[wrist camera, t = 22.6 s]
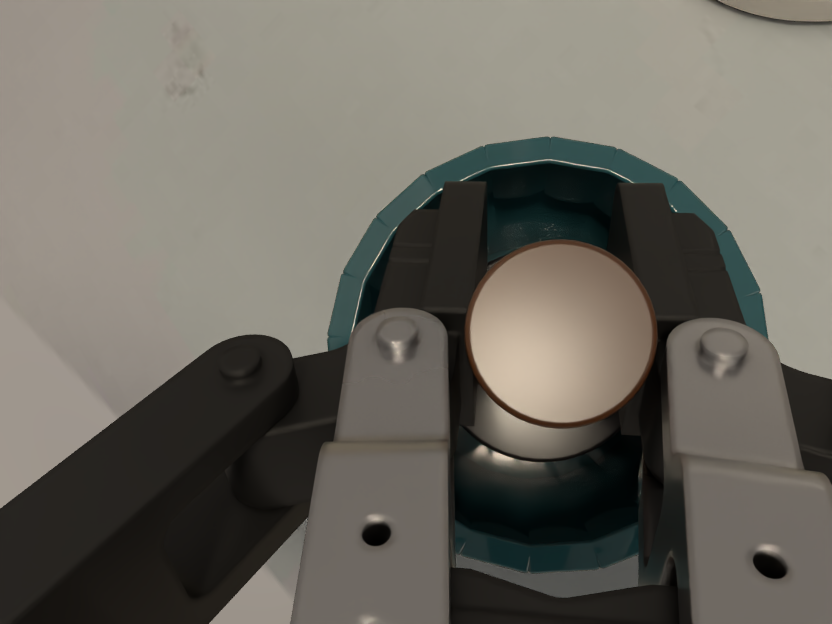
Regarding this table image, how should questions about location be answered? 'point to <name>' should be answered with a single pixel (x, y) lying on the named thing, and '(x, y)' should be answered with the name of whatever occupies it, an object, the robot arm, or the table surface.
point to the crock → (506, 231)
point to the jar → (786, 9)
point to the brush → (556, 349)
